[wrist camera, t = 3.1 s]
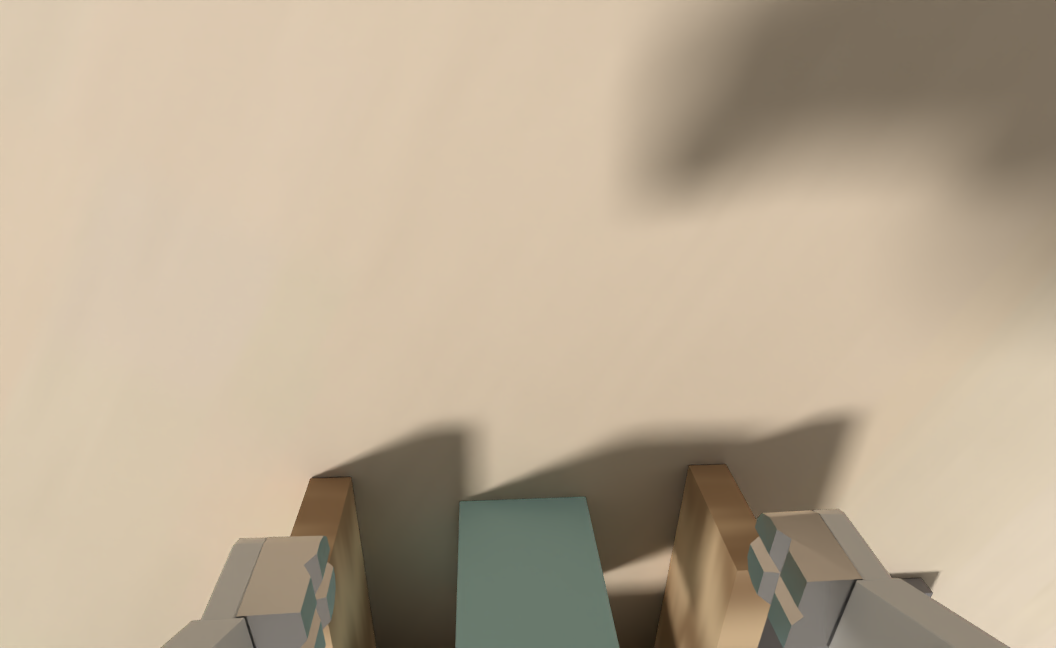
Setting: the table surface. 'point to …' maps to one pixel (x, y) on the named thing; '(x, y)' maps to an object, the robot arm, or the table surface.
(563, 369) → the table surface
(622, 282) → the table surface
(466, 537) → the block
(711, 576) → the wooden u-shaped holder
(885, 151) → the table surface
